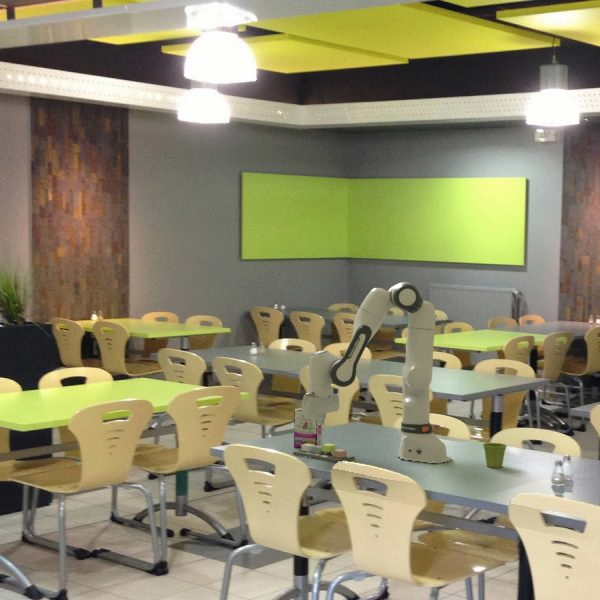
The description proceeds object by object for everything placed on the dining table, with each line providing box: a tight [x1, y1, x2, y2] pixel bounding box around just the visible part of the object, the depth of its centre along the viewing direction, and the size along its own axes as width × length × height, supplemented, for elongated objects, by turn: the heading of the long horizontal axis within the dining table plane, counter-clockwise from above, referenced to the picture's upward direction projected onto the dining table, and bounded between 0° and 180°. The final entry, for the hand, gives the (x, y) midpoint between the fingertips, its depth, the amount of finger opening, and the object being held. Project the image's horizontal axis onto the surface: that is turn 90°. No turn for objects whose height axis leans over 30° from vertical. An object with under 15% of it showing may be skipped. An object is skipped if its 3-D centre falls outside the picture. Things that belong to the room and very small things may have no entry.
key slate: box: [312, 445, 325, 454], centre depth 454 cm, size 4×4×4 cm
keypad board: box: [292, 449, 356, 464], centre depth 452 cm, size 23×11×2 cm, turn 49°
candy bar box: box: [293, 407, 323, 449], centre depth 471 cm, size 11×5×16 cm, turn 62°
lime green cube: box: [322, 443, 337, 454], centre depth 450 cm, size 4×4×4 cm
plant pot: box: [482, 442, 508, 469], centre depth 439 cm, size 9×9×9 cm
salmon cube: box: [333, 448, 348, 459], centre depth 447 cm, size 4×4×4 cm
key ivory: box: [300, 443, 315, 453], centre depth 458 cm, size 4×4×4 cm
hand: (320, 424), depth 453 cm, fingers closed
